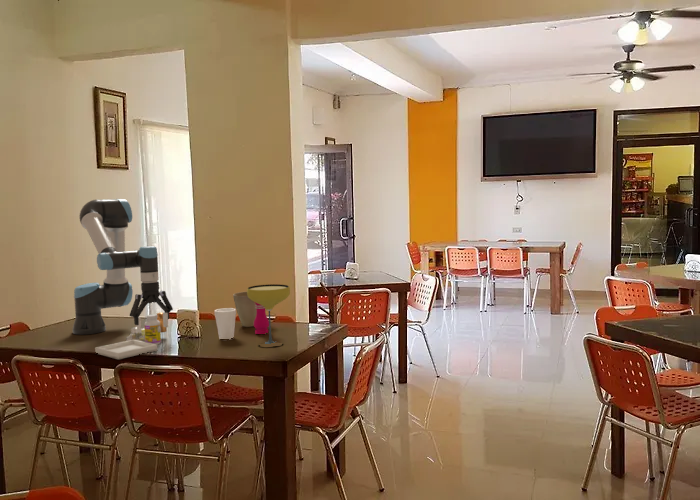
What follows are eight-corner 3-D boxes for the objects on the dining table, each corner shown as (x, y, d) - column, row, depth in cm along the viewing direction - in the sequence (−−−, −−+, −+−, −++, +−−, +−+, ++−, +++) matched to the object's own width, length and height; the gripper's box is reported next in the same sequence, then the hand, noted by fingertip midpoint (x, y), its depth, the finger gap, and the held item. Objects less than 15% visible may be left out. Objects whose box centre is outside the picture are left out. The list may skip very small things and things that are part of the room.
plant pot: (237, 322, 334) (236, 291, 333) (266, 322, 333) (265, 291, 332) (231, 328, 319) (230, 296, 318) (261, 328, 319) (260, 295, 317)
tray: (95, 353, 275) (95, 347, 275) (134, 345, 289) (133, 339, 289) (118, 359, 263) (118, 353, 263) (157, 350, 277) (157, 344, 277)
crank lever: (133, 337, 291) (132, 318, 290) (130, 335, 294) (128, 317, 294) (168, 331, 301) (167, 313, 301) (164, 330, 305) (163, 312, 304)
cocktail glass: (300, 342, 285) (298, 285, 283) (274, 351, 269) (272, 291, 267) (266, 338, 294) (264, 283, 292) (240, 347, 279) (238, 289, 276)
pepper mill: (266, 335, 302) (265, 292, 300) (251, 335, 303) (250, 292, 301) (271, 332, 309) (270, 289, 307) (257, 331, 310) (255, 289, 308)
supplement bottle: (142, 345, 287) (141, 316, 286) (149, 342, 294) (147, 313, 293) (157, 345, 286) (155, 316, 285) (163, 342, 293) (162, 313, 292)
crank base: (122, 342, 294) (121, 333, 293) (140, 339, 301) (139, 329, 300) (133, 345, 288) (133, 335, 288) (151, 341, 295) (151, 331, 295)
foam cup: (211, 338, 297) (210, 310, 296) (228, 335, 304) (227, 307, 303) (224, 341, 291) (223, 312, 290) (241, 337, 298) (239, 309, 297)
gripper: (128, 285, 276) (132, 335, 278) (179, 278, 295) (181, 325, 296) (119, 284, 281) (122, 333, 282) (169, 278, 300) (171, 324, 301)
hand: (152, 329), depth 289 cm, fingers open, 13 cm apart
